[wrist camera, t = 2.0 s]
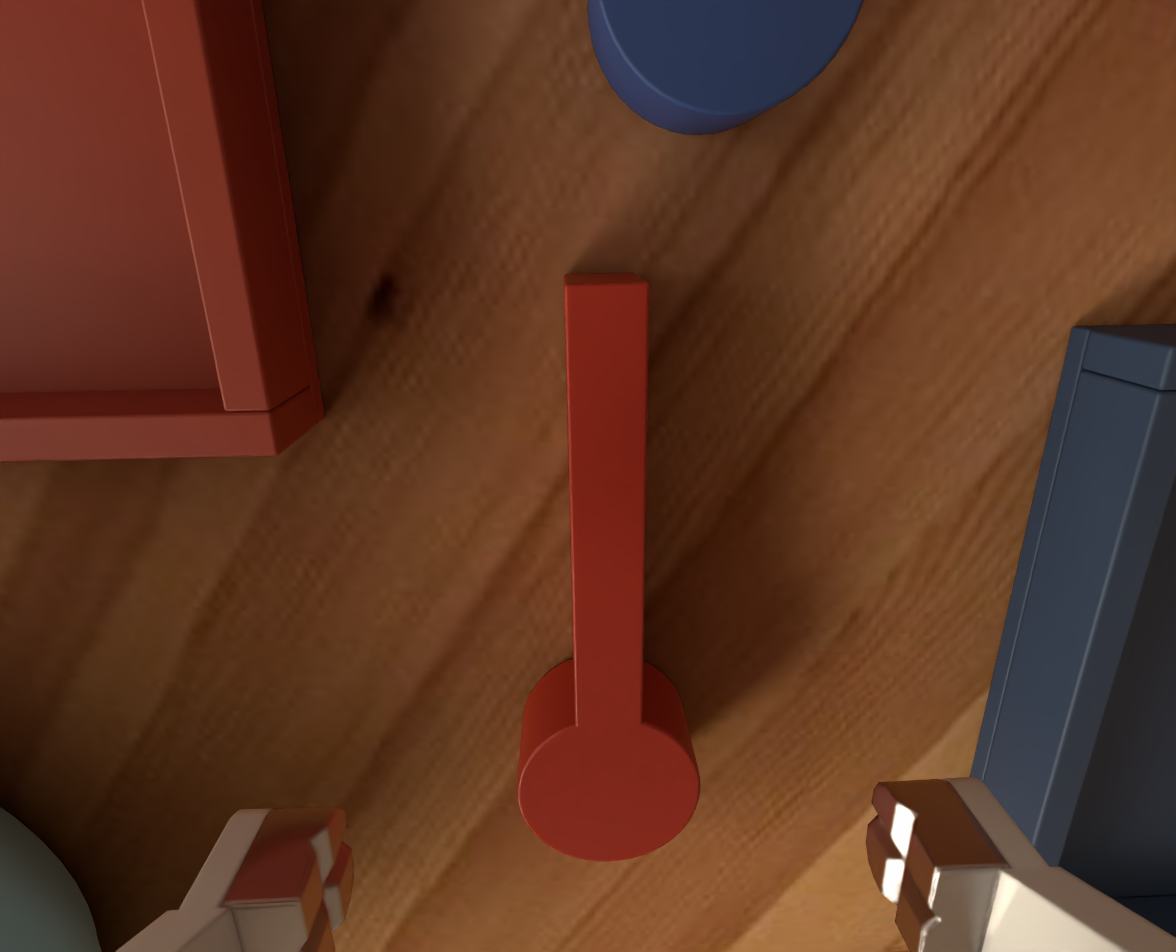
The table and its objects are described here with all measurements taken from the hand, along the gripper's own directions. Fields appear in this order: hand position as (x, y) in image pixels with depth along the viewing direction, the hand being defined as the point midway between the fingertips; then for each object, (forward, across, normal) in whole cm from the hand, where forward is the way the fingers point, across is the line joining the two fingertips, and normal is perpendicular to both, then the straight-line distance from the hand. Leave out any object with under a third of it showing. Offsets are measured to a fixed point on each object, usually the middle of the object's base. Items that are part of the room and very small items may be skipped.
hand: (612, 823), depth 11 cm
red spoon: (+6, 0, -1) cm, 6 cm away
